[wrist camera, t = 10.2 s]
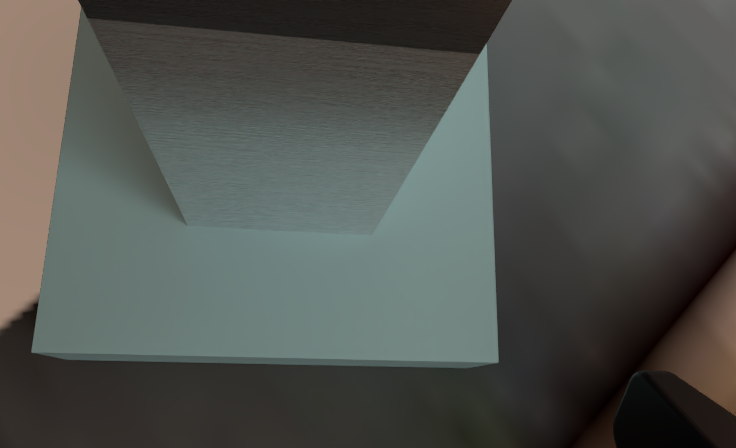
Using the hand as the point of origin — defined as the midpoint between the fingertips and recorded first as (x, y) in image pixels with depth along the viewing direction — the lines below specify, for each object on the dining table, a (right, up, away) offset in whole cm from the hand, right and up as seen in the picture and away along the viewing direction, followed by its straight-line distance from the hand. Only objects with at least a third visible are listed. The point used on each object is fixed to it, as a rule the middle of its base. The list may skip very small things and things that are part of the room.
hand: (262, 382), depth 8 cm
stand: (-2, +3, +14) cm, 14 cm away
